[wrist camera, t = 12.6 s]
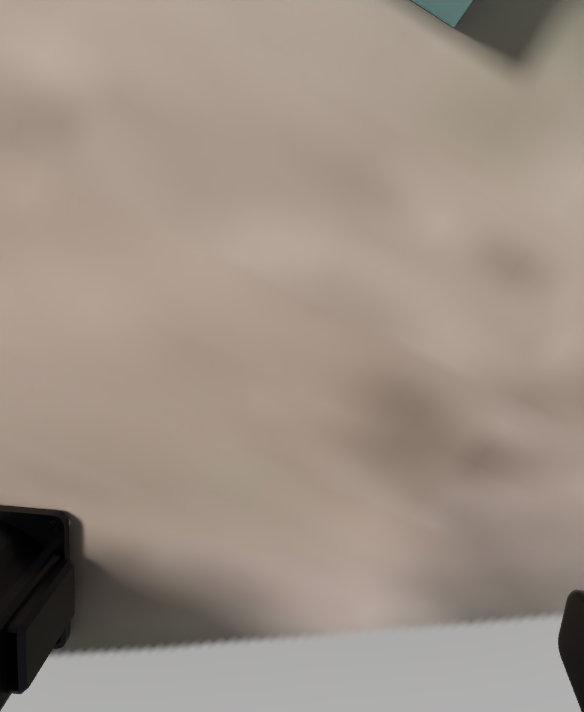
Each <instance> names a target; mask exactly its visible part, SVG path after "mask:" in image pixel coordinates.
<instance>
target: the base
mask: <svg viewBox="0 0 584 712" xmlns="http://www.w3.org/2000/svg"><path fill="white" fill-rule="evenodd" d="M412 1H413V2H415V3H416V4H418V5H419V6H421V7H422V8H424V9H426V10H427V11H429V12H430V13H432V14H433V15H435V16H436V17H438V18H439V19H441V20H442V21H444V22H446V23H447V24H449V25H450V26H452V27H453V28H454V27H455V25H456V24H457V22H458V21H459V20H460V18H461V17H462V15H463V14H464V12H465V11H466V10H467V8H468V7H469V5H470V4H471V2H472V1H473V0H412Z"/></svg>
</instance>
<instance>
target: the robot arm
mask: <svg viewBox="0 0 584 712" xmlns="http://www.w3.org/2000/svg"><path fill="white" fill-rule="evenodd" d="M51 521H55V522H56V523H57V524H58V527H56V526H54V525H53V524H52V523H51ZM73 615H74V565H73V563H72V562H71V560H69V521H68V518H67V516H66V515H65V514H64V513H62V512H61V511H57V510H46V509H34V508H23V507H11V506H0V711H1V709H2V707H3V706H4V704H5V703H6V701H7V700H8V698H9V697H10V695H11V694H12V693H14V694H22V693H23V692H24V691H25V690H26V689H27V688H29V686H30V684H31V683H32V681H33V680H34V678H35V676H36V675H37V673H38V672H39V670H40V668H41V667H42V665H43V664H44V662H45V660H46V659H47V657H48V655H49V654H50V652H51V651H52V649H58V648H61V647H63V646H64V645H65V643H66V641H67V640H68V638H69V636H70V620H71V618H72V617H73ZM558 646H559V652H560V655H561V659H562V661H563V664H564V667H565V669H566V672H567V674H568V677H569V680H570V682H571V685H572V687H573V690H574V693H575V695H576V698H577V700H578V703H579V706H580V708H581V711H582V712H584V591H582V590H574V591H572V592H571V593H570V594H569V596H568V598H567V601H566V606H565V610H564V614H563V619H562V623H561V628H560V632H559V638H558Z"/></svg>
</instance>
